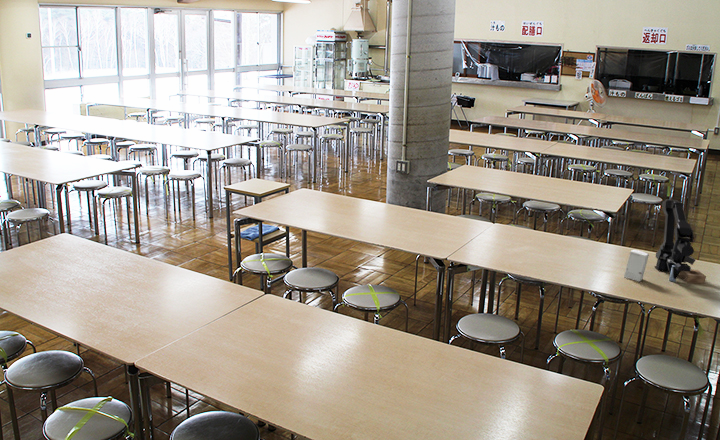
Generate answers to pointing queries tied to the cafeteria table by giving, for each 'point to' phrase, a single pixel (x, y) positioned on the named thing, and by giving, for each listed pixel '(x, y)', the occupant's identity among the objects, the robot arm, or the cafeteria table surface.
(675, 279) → the peg
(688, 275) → the socket block
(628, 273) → the skincare box
